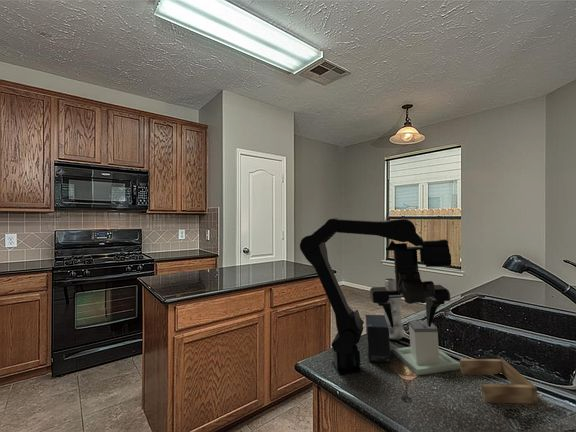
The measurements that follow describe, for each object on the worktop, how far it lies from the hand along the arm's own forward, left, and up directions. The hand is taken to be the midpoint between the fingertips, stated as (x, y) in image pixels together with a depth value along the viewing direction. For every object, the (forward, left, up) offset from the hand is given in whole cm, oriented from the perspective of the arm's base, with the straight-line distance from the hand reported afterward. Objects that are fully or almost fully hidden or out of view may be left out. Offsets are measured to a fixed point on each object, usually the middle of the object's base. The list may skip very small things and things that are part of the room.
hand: (410, 326), depth 77 cm
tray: (+7, +6, -13) cm, 16 cm away
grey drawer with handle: (+7, +6, -13) cm, 16 cm away
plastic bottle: (+7, +23, -13) cm, 27 cm away
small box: (-3, +14, -13) cm, 20 cm away
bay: (+15, -9, -13) cm, 22 cm away
